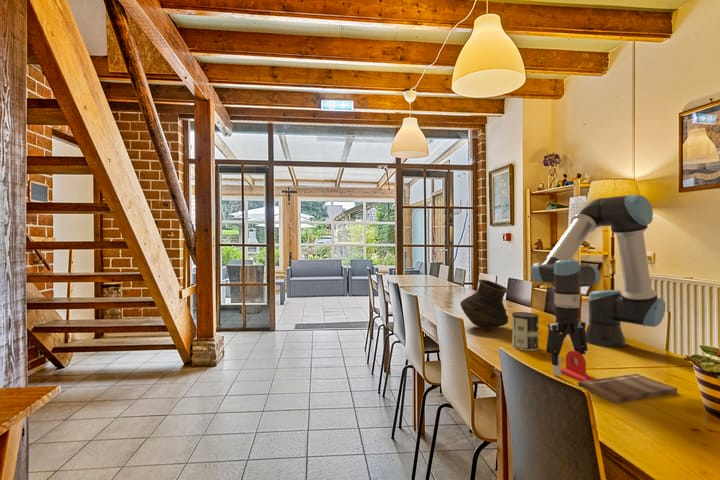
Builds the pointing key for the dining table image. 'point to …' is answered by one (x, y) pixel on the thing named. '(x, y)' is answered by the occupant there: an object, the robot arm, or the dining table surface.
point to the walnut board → (627, 388)
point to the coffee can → (525, 331)
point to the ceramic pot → (486, 305)
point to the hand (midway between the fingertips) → (567, 373)
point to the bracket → (576, 367)
